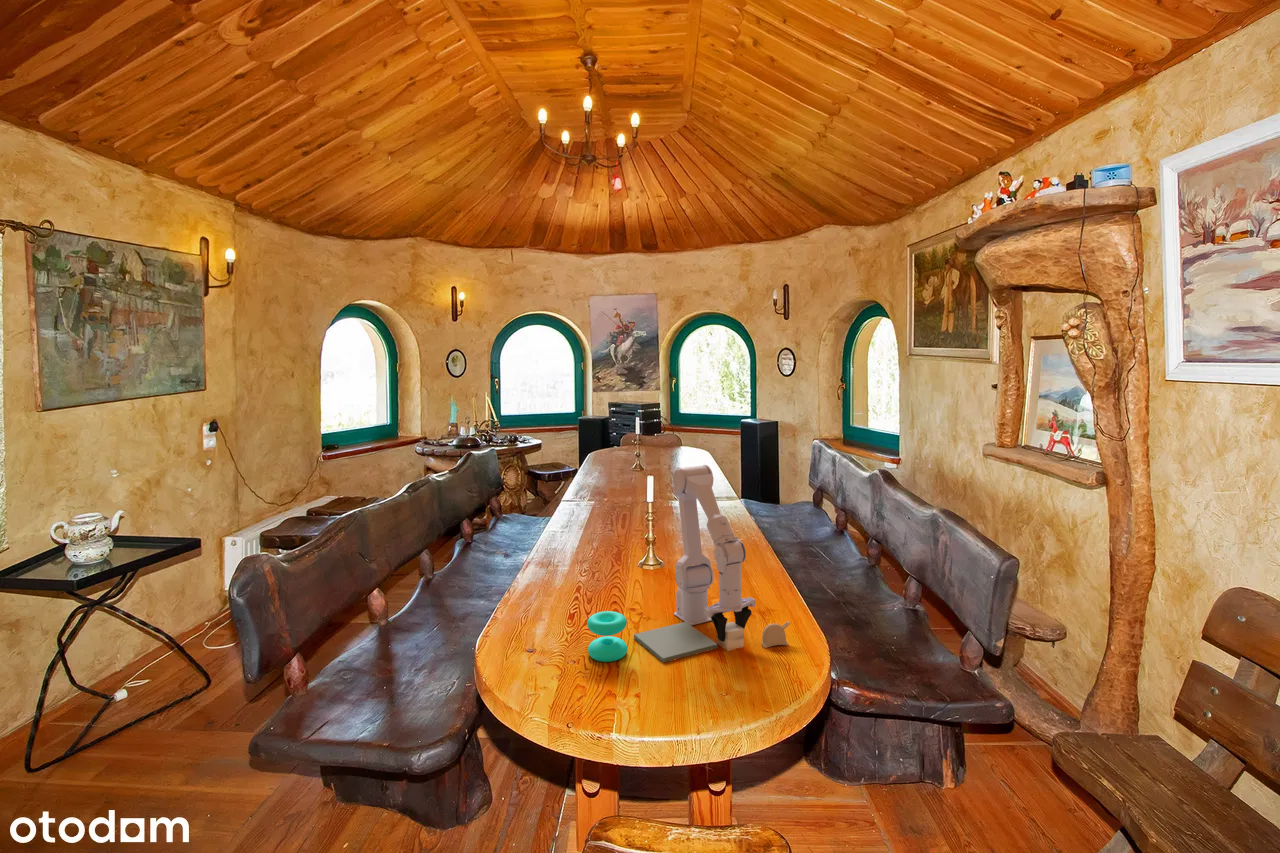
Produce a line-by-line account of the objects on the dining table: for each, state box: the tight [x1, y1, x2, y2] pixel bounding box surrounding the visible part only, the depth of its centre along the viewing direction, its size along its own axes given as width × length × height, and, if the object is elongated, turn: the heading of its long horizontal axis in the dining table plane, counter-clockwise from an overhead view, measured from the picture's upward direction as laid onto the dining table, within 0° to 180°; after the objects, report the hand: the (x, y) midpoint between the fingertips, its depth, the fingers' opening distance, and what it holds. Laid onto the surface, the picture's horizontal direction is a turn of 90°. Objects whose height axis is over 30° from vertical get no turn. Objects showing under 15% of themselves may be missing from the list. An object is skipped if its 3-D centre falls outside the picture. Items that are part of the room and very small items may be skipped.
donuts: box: [586, 610, 628, 663], centre depth 171 cm, size 10×10×10 cm
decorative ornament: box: [761, 621, 791, 649], centre depth 175 cm, size 4×8×5 cm, turn 101°
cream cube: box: [716, 621, 745, 652], centre depth 175 cm, size 5×5×5 cm
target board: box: [633, 621, 719, 664], centre depth 177 cm, size 16×16×1 cm
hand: (730, 637), depth 175 cm, fingers closed on cream cube, 5 cm apart
